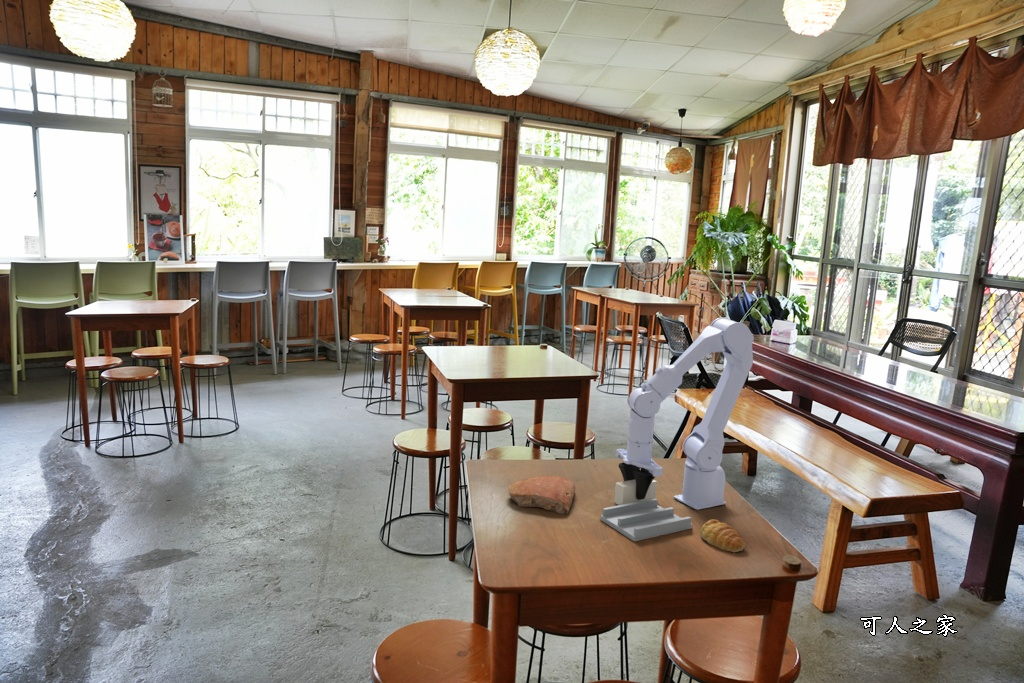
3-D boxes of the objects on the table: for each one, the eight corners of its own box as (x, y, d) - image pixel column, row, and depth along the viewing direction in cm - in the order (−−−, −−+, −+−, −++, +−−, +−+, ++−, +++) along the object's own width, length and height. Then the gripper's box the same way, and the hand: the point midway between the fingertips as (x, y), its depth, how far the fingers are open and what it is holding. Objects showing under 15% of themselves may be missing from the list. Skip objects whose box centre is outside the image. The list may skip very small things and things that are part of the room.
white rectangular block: (646, 496, 166) (648, 477, 166) (655, 501, 164) (657, 481, 163) (613, 503, 162) (615, 482, 161) (622, 507, 159) (623, 487, 158)
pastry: (752, 551, 140) (754, 533, 140) (728, 557, 137) (730, 539, 137) (719, 532, 149) (720, 515, 148) (695, 537, 145) (697, 520, 145)
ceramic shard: (518, 464, 169) (578, 479, 167) (513, 489, 170) (572, 505, 167) (507, 476, 155) (573, 494, 152) (501, 504, 155) (566, 522, 153)
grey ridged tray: (656, 508, 159) (657, 498, 159) (692, 528, 149) (693, 517, 149) (600, 519, 151) (600, 508, 151) (634, 541, 141) (635, 530, 141)
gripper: (607, 433, 165) (603, 487, 167) (647, 451, 152) (642, 509, 154) (630, 430, 168) (626, 483, 170) (671, 448, 156) (666, 505, 158)
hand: (635, 495), depth 162 cm, fingers open, 3 cm apart
